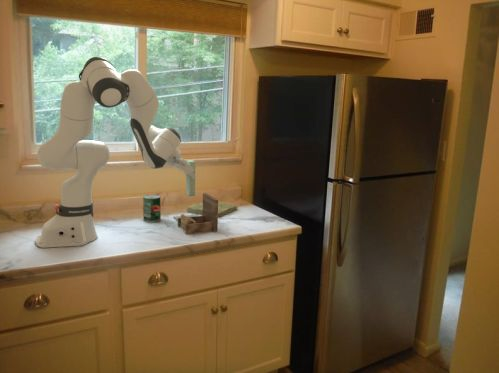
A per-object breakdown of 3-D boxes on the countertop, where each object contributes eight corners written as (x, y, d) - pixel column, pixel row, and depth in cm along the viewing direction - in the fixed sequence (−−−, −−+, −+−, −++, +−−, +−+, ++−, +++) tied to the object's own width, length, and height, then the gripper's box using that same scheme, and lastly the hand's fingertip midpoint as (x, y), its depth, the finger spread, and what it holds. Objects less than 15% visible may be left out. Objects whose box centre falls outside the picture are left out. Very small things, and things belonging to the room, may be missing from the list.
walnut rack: (187, 235, 182) (187, 202, 179) (176, 225, 194) (176, 195, 191) (217, 231, 188) (218, 200, 185) (205, 222, 200) (206, 193, 198)
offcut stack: (186, 233, 185) (187, 219, 184) (180, 227, 192) (180, 214, 191) (196, 231, 187) (196, 218, 186) (189, 226, 194) (190, 213, 193)
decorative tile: (237, 210, 226) (237, 203, 226) (216, 219, 209) (216, 212, 208) (207, 205, 235) (207, 198, 234) (185, 213, 218) (185, 206, 217)
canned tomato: (145, 216, 207) (144, 194, 205) (161, 217, 207) (161, 194, 205) (141, 221, 199) (141, 198, 197) (159, 221, 199) (159, 198, 197)
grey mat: (181, 224, 196) (181, 223, 196) (173, 217, 207) (173, 216, 207) (206, 222, 202) (206, 220, 202) (197, 215, 212) (197, 214, 212)
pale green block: (189, 196, 199) (189, 161, 195) (186, 194, 203) (186, 160, 200) (195, 196, 200) (195, 161, 196) (191, 193, 204) (191, 160, 201)
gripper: (183, 153, 185) (204, 175, 191) (169, 147, 203) (189, 167, 209) (173, 164, 184) (194, 185, 190) (160, 157, 202) (180, 177, 208)
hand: (191, 176), depth 200 cm, fingers closed on pale green block, 5 cm apart
